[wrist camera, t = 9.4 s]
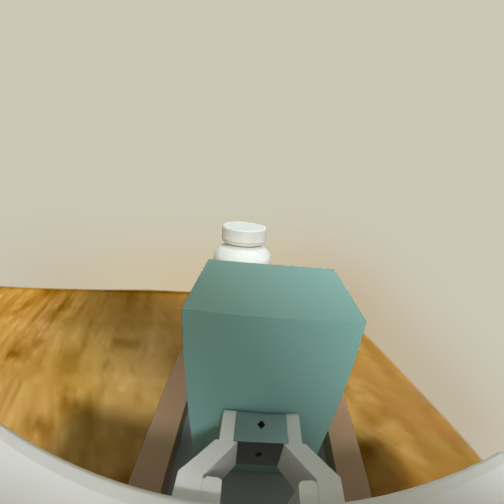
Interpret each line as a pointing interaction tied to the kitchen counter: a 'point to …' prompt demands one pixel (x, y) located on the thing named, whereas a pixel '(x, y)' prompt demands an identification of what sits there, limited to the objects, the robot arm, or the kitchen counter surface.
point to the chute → (237, 482)
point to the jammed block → (267, 347)
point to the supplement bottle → (243, 243)
